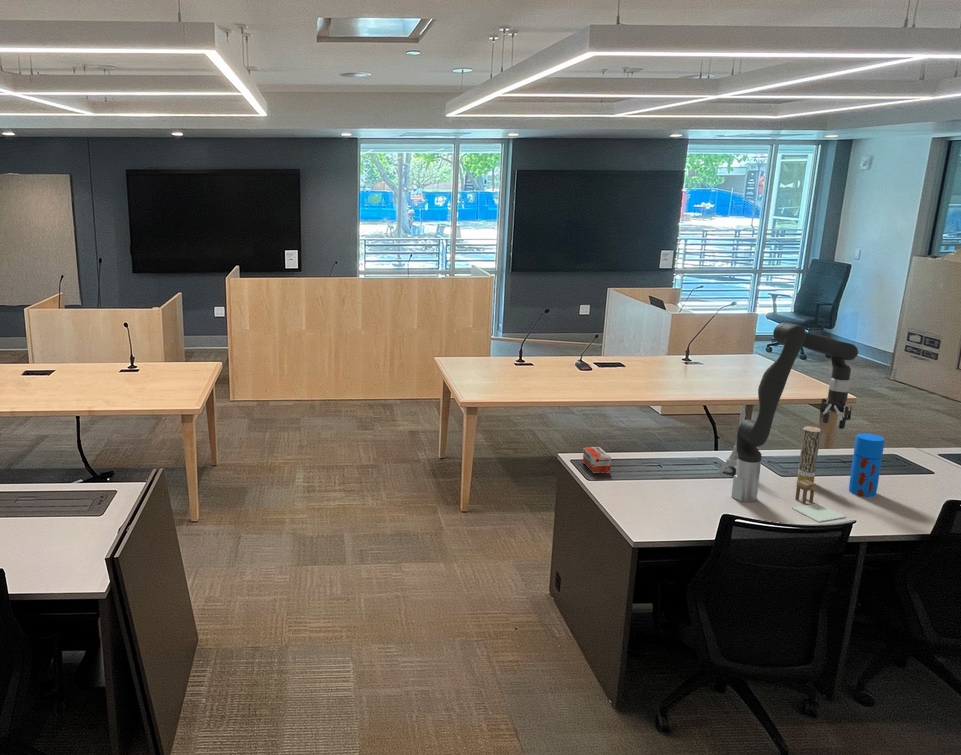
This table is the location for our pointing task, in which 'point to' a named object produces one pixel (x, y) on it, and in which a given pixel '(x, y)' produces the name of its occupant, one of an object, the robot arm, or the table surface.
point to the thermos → (866, 465)
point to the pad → (819, 512)
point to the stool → (805, 490)
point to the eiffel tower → (734, 456)
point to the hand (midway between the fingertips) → (833, 425)
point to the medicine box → (596, 459)
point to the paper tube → (809, 453)
